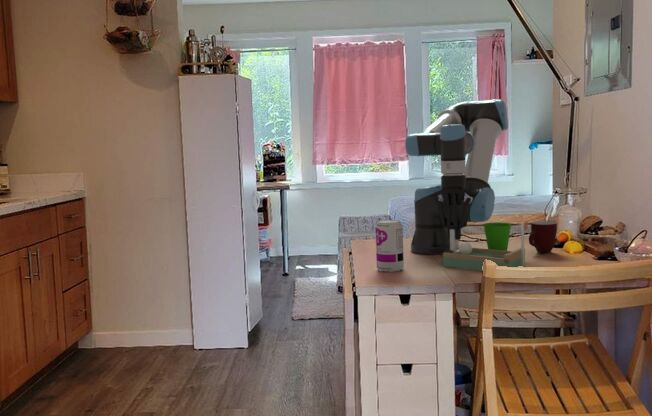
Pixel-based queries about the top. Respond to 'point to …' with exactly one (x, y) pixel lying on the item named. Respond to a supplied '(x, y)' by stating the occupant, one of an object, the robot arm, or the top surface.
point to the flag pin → (523, 227)
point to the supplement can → (389, 245)
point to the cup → (497, 235)
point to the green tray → (483, 258)
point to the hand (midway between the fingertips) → (454, 249)
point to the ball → (465, 248)
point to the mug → (543, 236)
